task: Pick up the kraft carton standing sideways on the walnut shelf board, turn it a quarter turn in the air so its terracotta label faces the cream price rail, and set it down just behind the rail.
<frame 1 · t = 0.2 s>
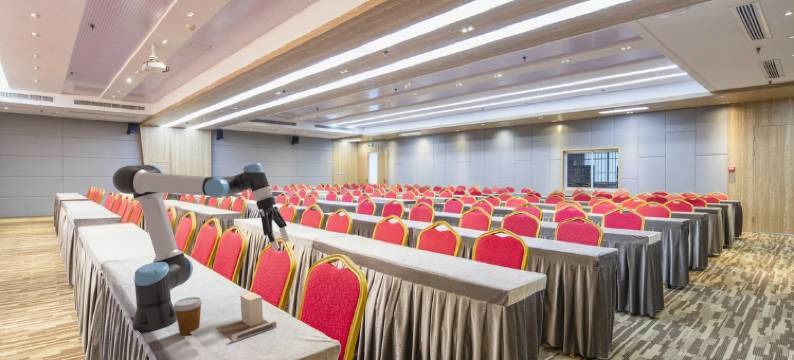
hand: (281, 245, 167), 27 cm above the table, tool tilted 20°, fingers open, 13 cm apart
shelf board: (246, 331, 145), on the table
carton: (252, 321, 151), point 1 cm above the table, touching shelf board
disposable coffee cup: (189, 332, 146), on the table
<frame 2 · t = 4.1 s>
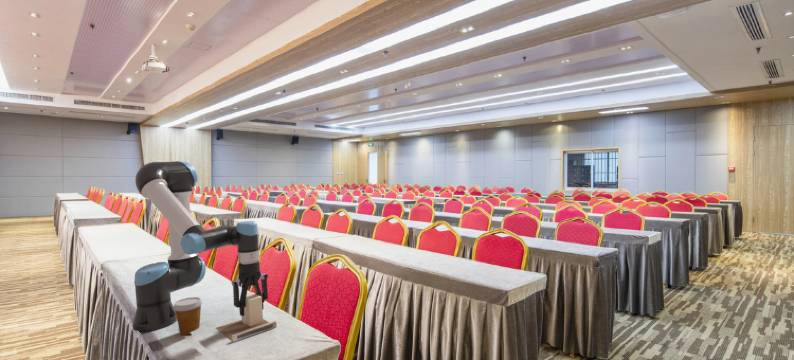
hand: (252, 320, 151), 2 cm above the table, tool pointing down, fingers closed on carton, 5 cm apart
carton: (252, 321, 151), point 2 cm above the table, touching gripper, shelf board
everything else where it was.
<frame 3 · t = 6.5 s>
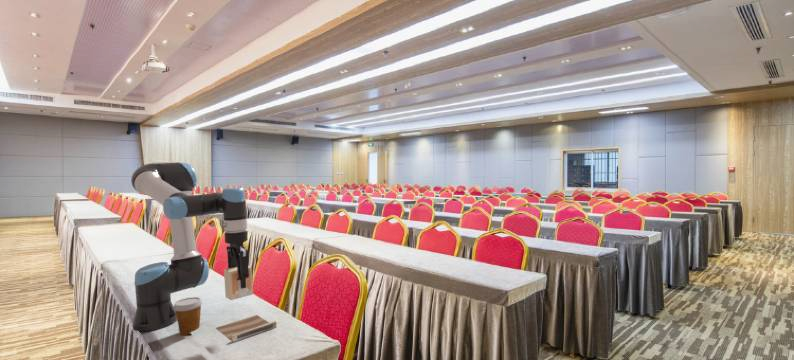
hand: (239, 294, 140), 16 cm above the table, tool pointing down, fingers closed on carton, 5 cm apart
carton: (239, 295, 140), point 15 cm above the table, touching gripper
everything else where it was.
when the fingers open (4 cm above the table, at t = 9.2 s): carton drops 2 cm, resting on shelf board.
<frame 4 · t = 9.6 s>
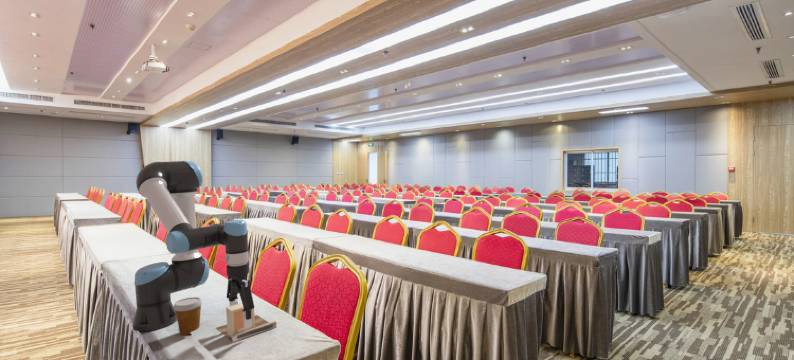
hand: (241, 322, 141), 5 cm above the table, tool pointing down, fingers open, 11 cm apart
carton: (241, 332, 141), point 1 cm above the table, touching shelf board
everything else where it was.
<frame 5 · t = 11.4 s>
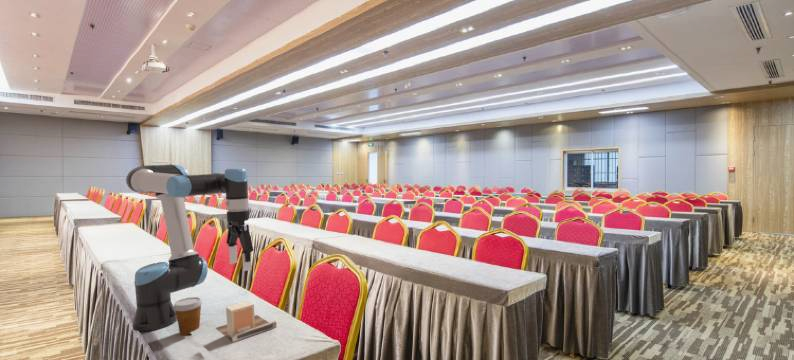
hand: (240, 266, 145), 24 cm above the table, tool pointing down, fingers open, 13 cm apart
nothing on the table moved.
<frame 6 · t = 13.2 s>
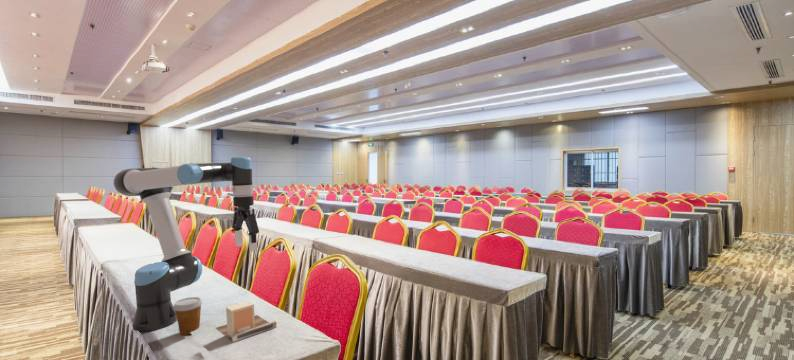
hand: (246, 248, 156), 29 cm above the table, tool pointing down, fingers open, 13 cm apart
nothing on the table moved.
at the end: carton inside the target area (0.1 cm from its centre), point 1.5 cm above the table; carton tilted 0°; carton moved 9.9 cm from its start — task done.
